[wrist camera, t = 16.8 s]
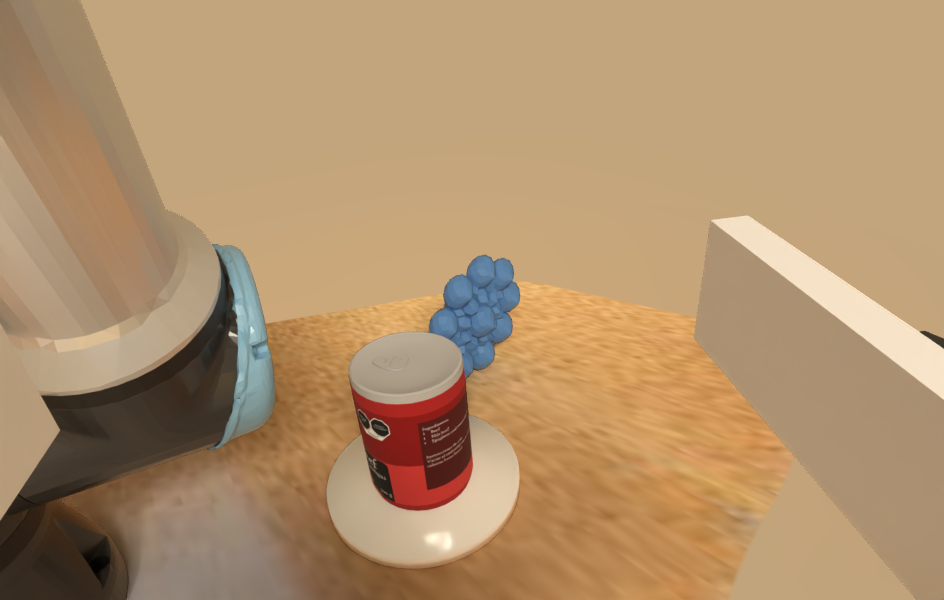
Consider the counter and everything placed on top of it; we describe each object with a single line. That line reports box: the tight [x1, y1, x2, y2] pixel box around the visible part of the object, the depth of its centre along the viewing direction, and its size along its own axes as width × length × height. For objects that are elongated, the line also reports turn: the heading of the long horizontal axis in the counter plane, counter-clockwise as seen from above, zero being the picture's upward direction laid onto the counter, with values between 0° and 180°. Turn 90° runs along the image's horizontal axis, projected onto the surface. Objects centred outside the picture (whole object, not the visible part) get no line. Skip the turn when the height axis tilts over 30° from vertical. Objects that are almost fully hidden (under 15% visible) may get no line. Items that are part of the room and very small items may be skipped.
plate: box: [326, 415, 520, 569], centre depth 47 cm, size 15×15×1 cm
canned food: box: [349, 332, 473, 511], centre depth 44 cm, size 8×8×11 cm
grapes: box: [429, 255, 520, 378], centre depth 57 cm, size 12×7×12 cm, turn 134°
